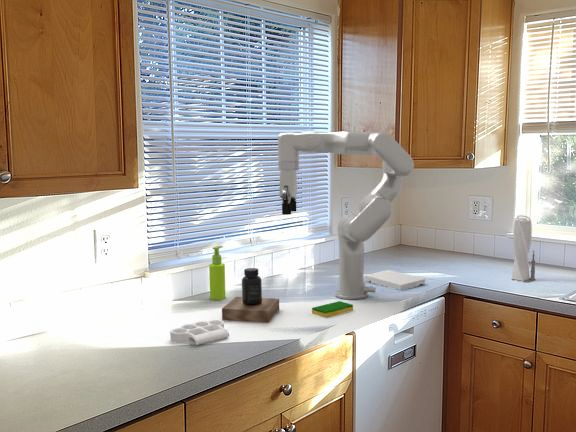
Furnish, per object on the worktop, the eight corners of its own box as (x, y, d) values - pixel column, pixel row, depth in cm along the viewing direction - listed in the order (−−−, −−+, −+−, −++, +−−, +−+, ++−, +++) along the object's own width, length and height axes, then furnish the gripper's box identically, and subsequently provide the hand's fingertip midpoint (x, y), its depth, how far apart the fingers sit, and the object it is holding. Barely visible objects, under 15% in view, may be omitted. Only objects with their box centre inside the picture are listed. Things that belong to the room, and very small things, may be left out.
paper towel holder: (525, 283, 250) (528, 216, 246) (507, 280, 256) (509, 214, 252) (535, 280, 255) (538, 214, 252) (517, 276, 261) (519, 213, 258)
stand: (279, 309, 214) (279, 298, 214) (268, 322, 199) (268, 311, 198) (236, 307, 218) (236, 296, 217) (222, 320, 202) (221, 308, 202)
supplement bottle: (264, 301, 210) (263, 267, 209) (259, 306, 204) (258, 271, 202) (245, 300, 212) (244, 266, 210) (239, 305, 205) (239, 271, 204)
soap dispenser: (229, 296, 234) (227, 245, 231) (221, 300, 227) (220, 248, 225) (215, 294, 236) (214, 244, 233) (207, 299, 229) (206, 247, 227)
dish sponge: (311, 314, 209) (311, 307, 209) (339, 307, 218) (339, 300, 218) (325, 318, 204) (325, 311, 204) (353, 311, 213) (353, 304, 212)
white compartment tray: (186, 351, 174) (163, 338, 185) (238, 337, 185) (213, 326, 196) (186, 339, 174) (162, 327, 185) (237, 327, 185) (212, 316, 196)
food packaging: (424, 286, 249) (388, 277, 264) (425, 278, 249) (388, 269, 264) (400, 293, 240) (364, 282, 255) (401, 285, 239) (364, 275, 255)
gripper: (283, 165, 230) (284, 210, 232) (273, 167, 214) (274, 215, 216) (303, 165, 229) (303, 210, 231) (293, 167, 212) (294, 215, 214)
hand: (289, 212), depth 223 cm, fingers open, 9 cm apart
